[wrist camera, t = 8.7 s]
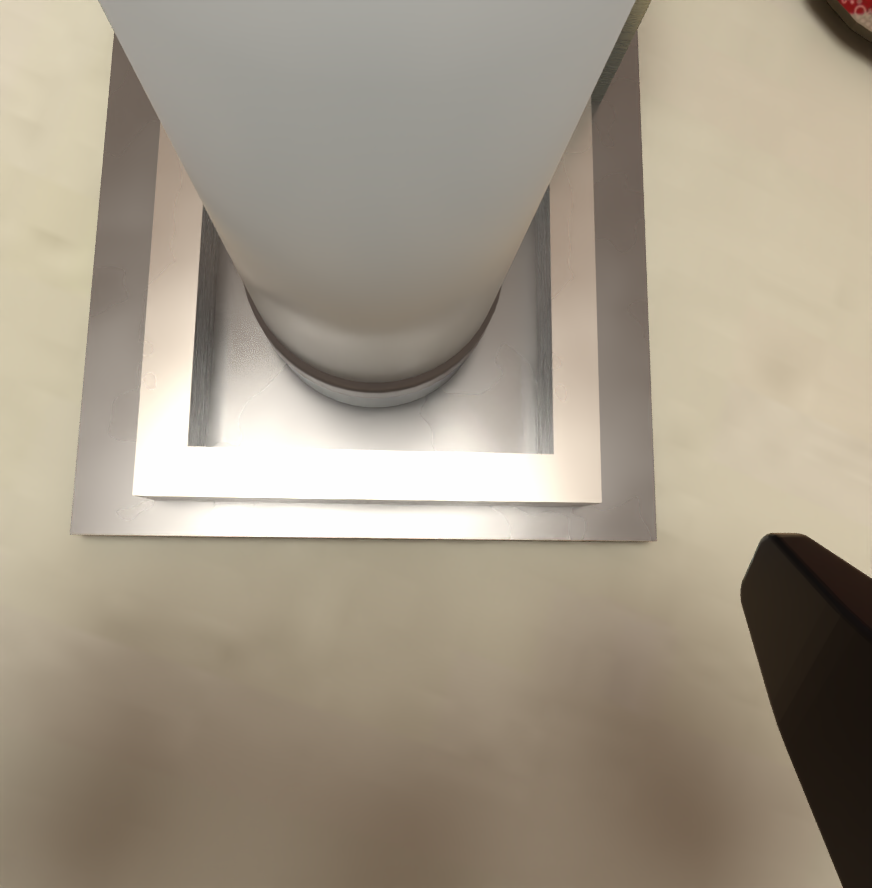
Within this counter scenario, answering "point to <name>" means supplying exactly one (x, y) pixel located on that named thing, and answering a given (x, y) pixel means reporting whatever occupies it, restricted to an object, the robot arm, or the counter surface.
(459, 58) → the bottle
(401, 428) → the gray base
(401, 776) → the counter surface
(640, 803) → the counter surface
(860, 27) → the beverage can
